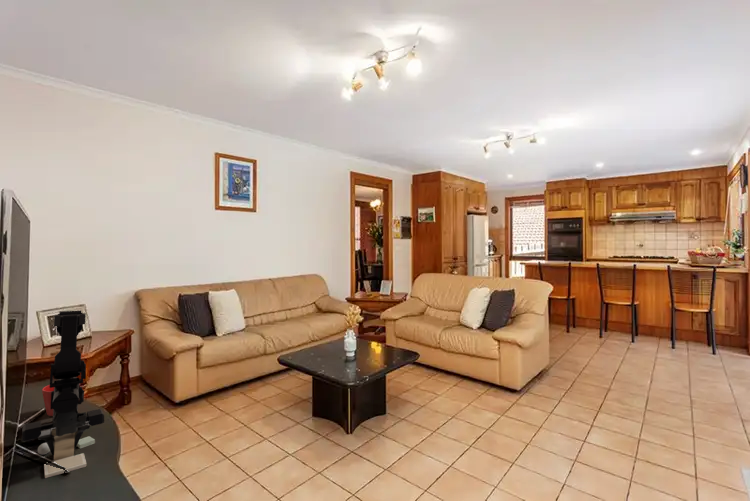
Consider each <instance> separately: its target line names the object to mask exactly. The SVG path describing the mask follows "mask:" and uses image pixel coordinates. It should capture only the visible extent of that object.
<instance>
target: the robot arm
mask: <svg viewBox="0 0 750 501" xmlns="http://www.w3.org/2000/svg"><path fill="white" fill-rule="evenodd" d="M86 314H87V313H83V312H82V310H81V309H80V310H62V311H60V310H59V313H58V314H54V316H53V317H54V318H53V320H54V321H53V327H56V332H57V334H58V335H59V336H60V348H59V349H60V350H59V351H58V352H57V354H55V356H54V360H53V361H54V363H51V365H50V375H49V385H50V388H53V387H54V391H51V409H53V416H52V422H50V423H44V424H42V421H40V420H39V421H35V422H31V423H30V422H29V423H25V424H24V425H23V426H22V433H21V434H22V435H21V438H22V439H21V440H22V441H23V442H28V441H31V440H37V439H38V440H39V441H42V440H43V441H44V442H45V443H47V444H48V446H49V449H50V451H49V452H50V453H51V456H53V455H54V437H53V435H52V430H53V429H56V436H63V435H65V434H69V433H71V434H72V433H75V434H74V438H75V440H74V451H75V450H76V448H77V444H78V442H79V439H81V437H82V436H83V434H84V432H85V431H86V430H89V429H90V428H91V427H93V426H97V425H102V424H103V423H105V414H104V412H103V410H102V409H101V408H98V409H94V410H93V409H92V410H89V411H85V412H78V409H79V407H78V406H79V405H82V403H84V402H85V400H84V398H85V390H84V389H83V387H82V386H81V384H83V383H84V380H85V379H86V378H87V376H86V375H87V363H86V362H85V361H84V360H82V353H81V352H80V351H79V350H78V348H77V345H78V344H77V343H78V342H77V341H78V335H79V334H80V333H81V331H83V325H86V316H87V315H86ZM79 376H80V377H79ZM53 379H54V380H53Z"/></svg>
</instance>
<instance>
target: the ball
mask: <svg viewBox="0 0 750 501" xmlns="http://www.w3.org/2000/svg"><path fill="white" fill-rule="evenodd" d="M50 452H51V451H50V449H49V446H48V444H47V443H46V442H43V443H41V444H40V445H39V446H38V447H37V453H38V454H39V455H46V454H48V453H50Z"/></svg>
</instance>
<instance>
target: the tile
mask: <svg viewBox="0 0 750 501" xmlns="http://www.w3.org/2000/svg"><path fill="white" fill-rule="evenodd" d="M94 444H96V439H95V438H93V437H91V436H90V435H88V436H85V437H83V438H80V439H79V442H78V444H77V446H76V448H77V447H78V448H79V449H83V448H85V447H89V446H91V445H94Z"/></svg>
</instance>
